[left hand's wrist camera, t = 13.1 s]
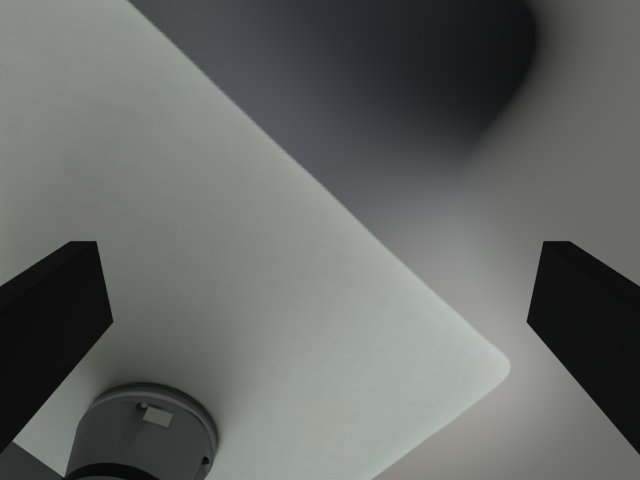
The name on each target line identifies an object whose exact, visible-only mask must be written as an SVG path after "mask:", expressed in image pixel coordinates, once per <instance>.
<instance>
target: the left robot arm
mask: <svg viewBox="0 0 640 480" xmlns="http://www.w3.org/2000/svg"><path fill="white" fill-rule="evenodd" d="M112 323H113V318H112V313H111V308H110V304H109V299H108V294H107V289H106V285H105V280H104V275H103V270H102V266H101V261H100V256H99V251H98V246H97V242H96V241H70V242H68V243H67V244H65V245H64V246H62V247H61V248H59V249H57V250H56V251H54V252H53V253H51V254H50V255H48V256H47V257H45V258H44V259H42V260H40V261H39V262H37V263H36V264H34V265H33V266H31V267H30V268H28V269H27V270H25V271H24V272H22V273H20V274H19V275H17V276H16V277H14V278H13V279H11V280H10V281H8V282H7V283H5V284H3V285H2V286H0V480H204V479H205V477H206V476H207V475H208V473H209V472H210V470H211V467H212V465H213V461H214V457H215V454H216V450H217V445H218V437H217V431H216V428H215V425H214V423H213V421H212V419H211V418H210V416H209V415H208V413H207V412H206V411H205V410H204V409H203V408H202V407H201V406H200V405H199V404H198V403H197V402H196V401H194V400H193V399H192V398H190V397H188V396H187V395H185V394H183V393H181V392H179V391H177V390H174V389H172V388H168V387H165V386H161V385H156V384H147V383H135V384H127V385H122V386H118V387H116V388H113V389H111V390H109V391H107V392H105V393H103V394H102V395H100V396H99V397H98V398H97V399H96V400H95V401H94V402H93V403H92V404H91V406H90V407H89V409H88V410H87V411H86V413H85V414H84V416H83V417H82V419H81V420H80V422H79V424H78V427H77V431H76V435H75V439H74V443H73V447H72V450H71V454H70V458H69V462H68V466H67V470H66V473H65V477H64V478H63V477H62V476H61V475H59V474H58V473H57V472H55V471H54V470H52V469H51V468H50V467H48V466H47V465H45V464H44V463H42V462H41V461H40V460H38V459H37V458H35V457H34V456H33V455H31V454H30V453H28V452H27V451H25V450H24V449H23V448H21V447H20V446H18V445H17V444H16V443H14V442H13V441H12V440H13V439H14V438H15V437H16V436H17V435H18V433H19V432H20V431H21V430H22V429H23V428H24V426H25V425H26V424H27V423H28V422H29V420H30V419H31V418H32V417H33V416H34V415H35V413H36V412H37V411H38V410H39V409H40V408H41V406H42V405H43V404H44V403H45V402H46V401H47V399H48V398H49V397H50V396H51V395H52V393H53V392H54V391H55V390H56V389H57V388H58V386H59V385H60V384H61V383H62V382H63V381H64V379H65V378H66V377H67V376H68V375H69V374H70V372H71V371H72V370H73V369H74V368H75V367H76V365H77V364H78V363H79V362H80V361H81V359H82V358H83V357H84V356H85V355H86V354H87V352H88V351H89V350H90V349H91V348H92V347H93V345H94V344H95V343H96V342H97V341H98V340H99V338H100V337H101V336H102V335H103V334H104V332H105V331H106V330H107V329H108V328H109V327H110V325H111V324H112ZM527 323H528V324H529V325H530V327H531V328H532V329H533V330H534V331H535V332H536V334H537V335H538V336H539V337H540V338H541V340H542V341H543V342H544V343H545V344H546V345H547V347H548V348H549V349H550V350H551V351H552V352H553V354H554V355H555V356H556V357H557V358H558V359H559V361H560V362H561V363H562V364H563V365H564V366H565V368H566V369H567V370H568V371H569V372H570V373H571V375H572V376H573V377H574V378H575V379H576V381H577V382H578V383H579V384H580V385H581V386H582V388H583V389H584V390H585V391H586V392H587V393H588V395H589V396H590V397H591V398H592V399H593V401H594V402H595V403H596V404H597V405H598V406H599V408H600V409H601V410H602V411H603V412H604V413H605V415H606V416H607V417H608V418H609V419H610V420H611V422H612V423H613V424H614V425H615V426H616V428H617V429H618V430H619V431H620V432H621V433H622V435H623V436H624V437H625V438H626V439H627V440H628V442H629V443H630V444H631V445H632V446H633V447H634V449H635V450H636V451H637V452H638V453H639V455H640V286H638V285H637V284H635V283H633V282H632V281H630V280H629V279H627V278H626V277H624V276H623V275H621V274H620V273H618V272H616V271H615V270H613V269H612V268H610V267H609V266H607V265H606V264H604V263H603V262H601V261H600V260H598V259H596V258H595V257H593V256H592V255H590V254H589V253H587V252H586V251H584V250H582V249H581V248H579V247H578V246H576V245H575V244H573V243H572V242H570V241H544V242H543V246H542V251H541V256H540V261H539V266H538V270H537V275H536V280H535V285H534V289H533V294H532V299H531V304H530V309H529V313H528V318H527Z"/></svg>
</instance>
